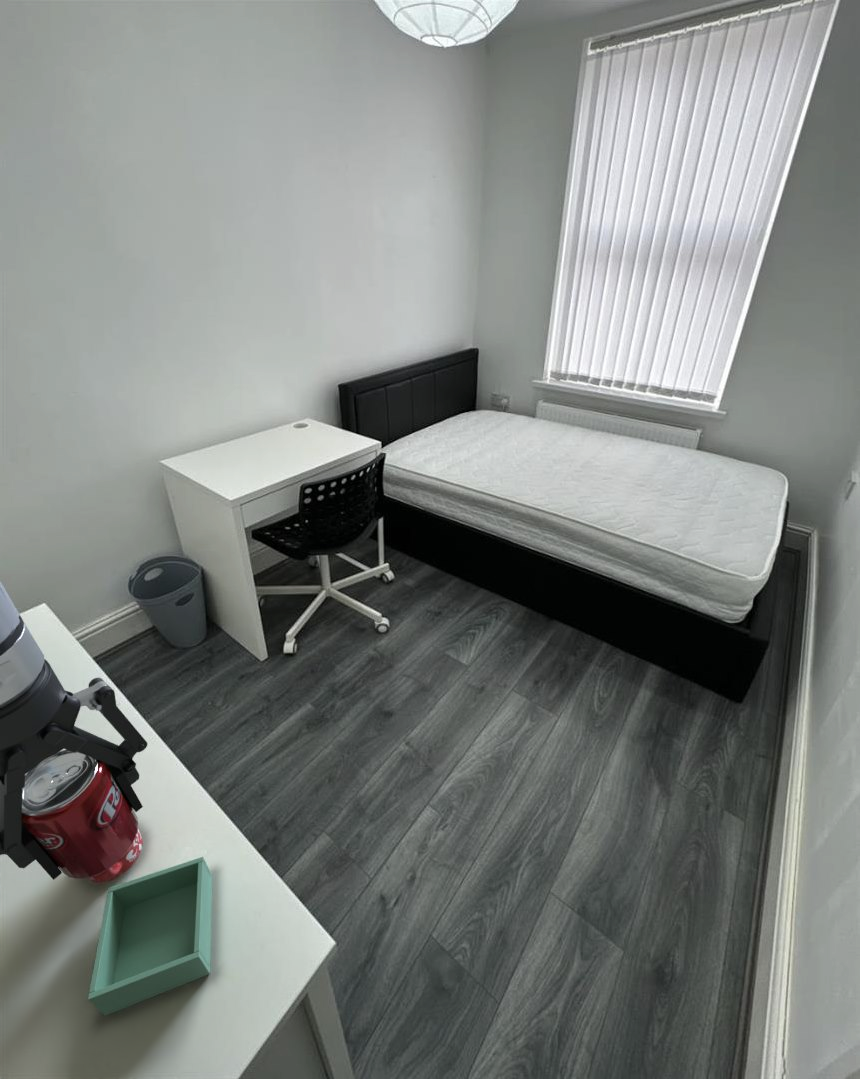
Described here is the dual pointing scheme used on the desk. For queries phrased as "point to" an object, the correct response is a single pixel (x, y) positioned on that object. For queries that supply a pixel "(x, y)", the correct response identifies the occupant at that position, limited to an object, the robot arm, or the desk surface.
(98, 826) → the soda can
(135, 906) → the teal square tray
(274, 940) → the desk surface
